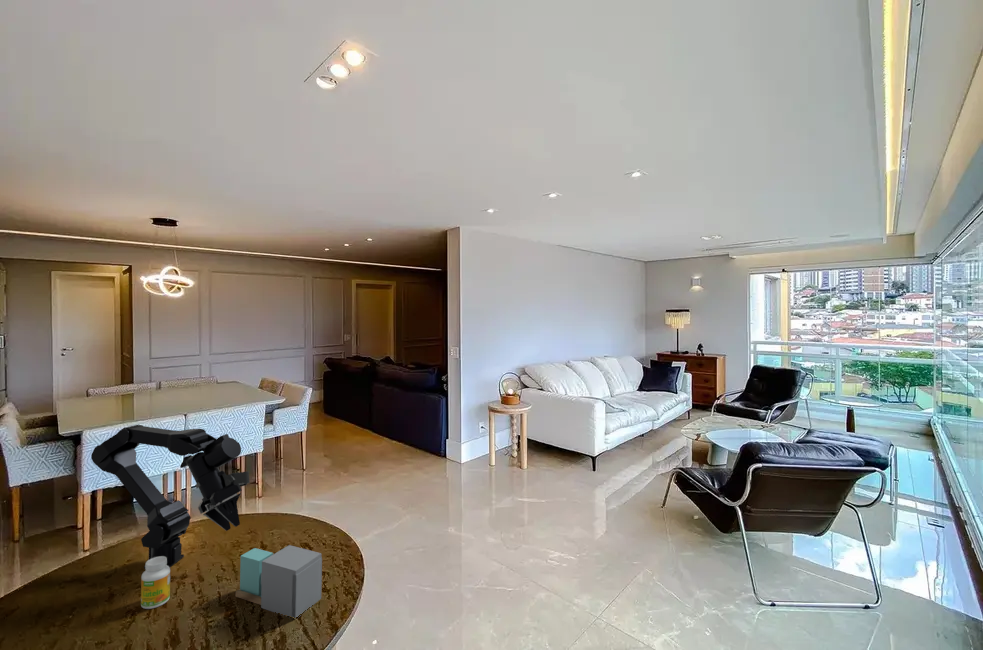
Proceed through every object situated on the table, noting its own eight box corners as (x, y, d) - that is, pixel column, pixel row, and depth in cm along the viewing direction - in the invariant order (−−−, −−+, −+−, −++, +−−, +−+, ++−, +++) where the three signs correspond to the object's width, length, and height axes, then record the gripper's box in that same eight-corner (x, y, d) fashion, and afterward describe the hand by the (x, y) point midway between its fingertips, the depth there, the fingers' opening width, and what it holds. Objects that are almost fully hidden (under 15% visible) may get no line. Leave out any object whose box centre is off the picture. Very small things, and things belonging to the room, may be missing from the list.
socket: (261, 607, 101) (261, 561, 101) (288, 588, 109) (289, 544, 109) (295, 619, 98) (296, 571, 98) (321, 598, 105) (322, 553, 105)
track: (235, 596, 105) (235, 591, 105) (258, 581, 111) (258, 577, 111) (263, 605, 102) (264, 600, 102) (285, 590, 108) (285, 585, 108)
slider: (239, 592, 106) (240, 555, 106) (254, 583, 110) (254, 547, 110) (265, 600, 103) (265, 562, 103) (278, 591, 107) (279, 554, 107)
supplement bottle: (138, 612, 99) (138, 569, 99) (143, 598, 103) (144, 557, 103) (167, 605, 101) (168, 563, 101) (171, 592, 106) (172, 552, 106)
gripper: (247, 451, 116) (274, 504, 115) (230, 466, 128) (253, 514, 127) (201, 473, 108) (229, 531, 107) (187, 486, 120) (212, 538, 119)
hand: (233, 527), depth 115 cm, fingers open, 9 cm apart
